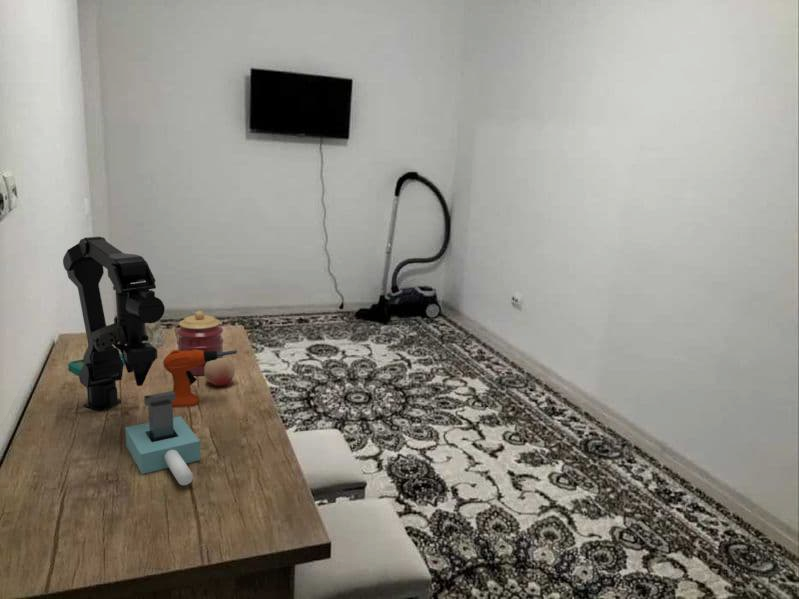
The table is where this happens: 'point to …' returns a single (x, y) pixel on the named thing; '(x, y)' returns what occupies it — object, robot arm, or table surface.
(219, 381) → the fruit
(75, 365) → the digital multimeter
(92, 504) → the table surface
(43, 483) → the table surface
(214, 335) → the canister
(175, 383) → the toy drill
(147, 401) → the grey t-shaped bar
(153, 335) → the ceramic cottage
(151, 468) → the block
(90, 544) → the table surface
